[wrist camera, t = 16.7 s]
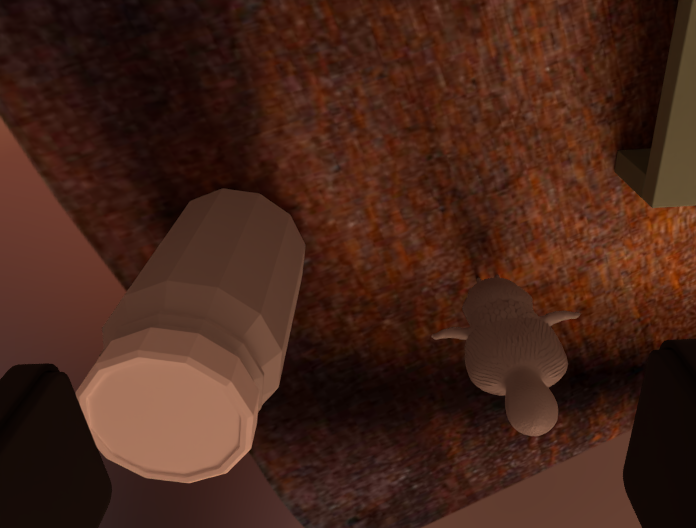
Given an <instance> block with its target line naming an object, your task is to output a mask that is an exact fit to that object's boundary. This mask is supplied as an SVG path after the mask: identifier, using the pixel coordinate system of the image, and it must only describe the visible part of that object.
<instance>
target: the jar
mask: <svg viewBox="0 0 696 528" xmlns="http://www.w3.org/2000/svg"><path fill="white" fill-rule="evenodd" d="M304 253H305V243H304V241H303V239H302V237H301V235H300V233H299V231H298V229H297V227H296V225H295V223H294V221H293V219H292V217H291V215H290V214H288V213H287V212H285V211H284V210H283V209H281V208H280V207H278V206H277V205H275V204H274V203H273V202H271V201H270V200H268V199H267V198H265V197H264V196H263V195H261V194H259V193H252V192H245V191H238V190H231V189H223V188H222V189H219V190H217V191H214V192H212V193H209V194H207V195H204V196H202V197H199V198H196V199H194V200H191V201H190V202H189V203H188V205H187V206H186V208H185V209H184V210H183V212H182V213H181V215H180V216H179V218H178V219H177V220H176V222H175V223H174V225H173V226H172V228H171V229H170V231H169V232H168V233H167V235H166V236H165V238H164V239H163V241H162V242H161V244H160V245H159V246H158V248H157V249H156V251H155V252H154V254H153V255H152V256H151V258H150V259H149V261H148V262H147V264H146V265H145V267H144V268H143V269H142V271H141V272H140V274H139V275H138V277H137V278H136V279H135V281H134V282H133V284H132V285H131V287H130V288H129V290H128V291H127V292H126V294H125V295H124V297H123V298H122V300H121V301H120V303H119V304H118V306H117V307H116V309H115V310H114V311H113V313H112V314H111V316H110V317H109V319H108V320H107V321H106V323H105V324H104V326H103V327H102V332H103V343H104V349H103V351H102V352H101V354H100V355H99V356H100V357H99V359H98V360H97V362H96V363H95V365H94V366H93V367H92V369H91V370H90V372H89V373H88V375H87V376H86V378H85V379H84V381H83V382H82V384H81V385H80V387H79V388H78V390H77V391H76V393H75V394H76V397H77V399H78V402H79V404H80V407H81V409H82V412H83V414H84V417H85V419H86V421H87V424H88V426H89V429H90V431H91V434H92V436H93V439H94V441H95V444H96V446H97V448H98V449H99V450H100V452H101V453H102V454H103V455H104V456H105V458H107V459H109V460H111V461H113V462H115V463H117V464H119V465H121V466H123V467H125V468H127V469H129V470H131V471H133V472H135V473H137V474H139V475H141V476H143V477H145V478H151V479H159V480H167V481H175V482H183V483H191V482H195V481H199V480H203V479H206V478H210V477H214V476H217V475H221V474H225V473H227V472H228V471H229V470H230V469H231V468H232V467H233V466H234V465H235V464H236V463H237V462H238V461H239V460H240V459H241V458H242V457H243V456H244V455H245V454H246V453H247V452H248V451H249V450H250V449H251V446H252V442H253V438H254V433H255V429H256V425H257V415H258V411H259V410H260V409H261V406H262V404H263V403H264V402H265V401H266V400H267V399H268V398H269V397H270V396H271V395H272V394H273V393H274V392H275V391H276V390H277V388H278V387H279V382H280V378H281V373H282V368H283V363H284V359H285V354H286V349H287V345H288V340H289V335H290V330H291V326H292V321H293V316H294V311H295V307H296V302H297V297H298V292H299V288H300V283H301V278H302V272H303V263H304Z"/></svg>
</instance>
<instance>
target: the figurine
mask: <svg viewBox="0 0 696 528" xmlns="http://www.w3.org/2000/svg"><path fill="white" fill-rule="evenodd" d="M462 309H463V312H464V314H465V316H466V319H467V320H468V322H469V325H470V327H469V328H461V327H456V328H455V327H451V328H448V329H443V330H441V331H440V332H438V333H436V334H433V335H432V336H431V337H432V338H434V339H435V340H437V339H441V338H458V339H466V340H467V341H466V345H465V361H466V366H467V367H466V368H467V371H468V373H469V374H468V375H469V376H470V379H471V381H472V382H473V383H474V384H475V385H476V386H478V387H479V388H481V390H483V391H486V392H488V393H491V394H494V395H495V394H497V395H505V407H506V413H507V417H508V419H509V421H510V423H511V425H512V426H513V427H514V428H515V429H516V430H517V431H519V432H520V433H523V434H525V435H529V436H539V435H543V434H545V433H546V432H548V431H549V430H551V429H552V428H553V426H554V425H555V423H556V421H557V418H558V407H557V402H556V400H555V398H554V396H553V394H552V393H551V391H550V390H549V388H548V387H550V386H551V385H554V384H555V383H556V382H557V381H559V380H560V379H561V378H562V376H563V375H564V374H565V372H566V370H567V366H568V362H567V358H566V354H565V352H564V350H563V347H562V344H561V343H560V341H559V339H558V337H557V336H556V334H555V333H554V330H553V329H552V327H551V325H553V324H554V323H557V322H560V321H562V320H568V319H575V318H578V316H579V315H580V313H579V312H569V311H555V312H553V313H548V314H546V315H545V316H540V317H538V315H537V314H536V313H534V310H533V307H532V298H531V296H530V295H529V294H528V293H527V292H525V290H523V289H522V288H521V287H519V286H517V285H516V284H515V283H513V282H512V281H510V280H507V279H504V278H500V277H499V275H495V278H490V279H489V278H488V279H484V280H482V281H481V279H480V278H477V284H475V285H474V286H473V287H472V288H471V289H470V290H469V293H468V297H467V298H466V300H465V302H464V305H463V308H462Z"/></svg>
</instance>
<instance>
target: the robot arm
mask: <svg viewBox="0 0 696 528" xmlns="http://www.w3.org/2000/svg"><path fill="white" fill-rule="evenodd" d="M623 481H624V486H625V490H626V493H627V495H628V498H629V500H630V502H631V504H632V506H633V509H634V511H635V513H636V515H637V518H638V520H639V522H640V524H641V526H642V528H696V339H682V340H667V341H664V342H663V343H662V345H661V347H660V349H659V350H653V351H652V352H651V353H650V355H649V357H648V362H647V366H646V371H645V375H644V380H643V384H642V388H641V393H640V397H639V402H638V406H637V411H636V415H635V420H634V424H633V429H632V433H631V438H630V442H629V447H628V451H627V456H626V460H625V464H624V469H623ZM111 493H112V486H111V482H110V478H109V476H108V474H107V471H106V469H105V466H104V464H103V461H102V459H101V456H100V454H99V451H98V449H97V446H96V444H95V441H94V439H93V436H92V434H91V431H90V429H89V426H88V424H87V421H86V419H85V417H84V414H83V412H82V409H81V407H80V404H79V402H78V399H77V397H76V394H75V392H74V390H73V387H72V385H71V382H70V379H69V377H68V376H67V374H65V373H64V372H60V371H59V370H58V368H57V367H56V366H55V365H53V364H25V365H24V364H23V365H15V366H13V367H12V368H10V369H9V370H8V371H7V372H6V373H5V375H4V376H3V377H2V378H1V379H0V528H98V527H99V525H100V523H101V521H102V518H103V516H104V514H105V512H106V510H107V508H108V505H109V503H110V499H111Z"/></svg>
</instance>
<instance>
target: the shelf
mask: <svg viewBox="0 0 696 528" xmlns="http://www.w3.org/2000/svg"><path fill="white" fill-rule="evenodd" d="M615 173H616V174H617V175H619V176H620V177H621V178H622V179H623V180H624V181H625V182H626V183H627V184H628V185H629V186H630V187H631V188H632V189H633V190H634V191H635V192H636V193H637V194H638V195H639V196H640V197H641V198H642V199H643V200H645V201H646V202H647V203H648V204H649V205H650V206H651V207H652V208H657V207H676V206H695V205H696V0H679V1H678V6H677V11H676V17H675V22H674V28H673V33H672V38H671V44H670V49H669V55H668V60H667V65H666V71H665V76H664V82H663V87H662V92H661V98H660V103H659V108H658V114H657V119H656V125H655V130H654V135H653V141H652V146H651V148H649V149H632V150H618V152H617V158H616V165H615Z"/></svg>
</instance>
